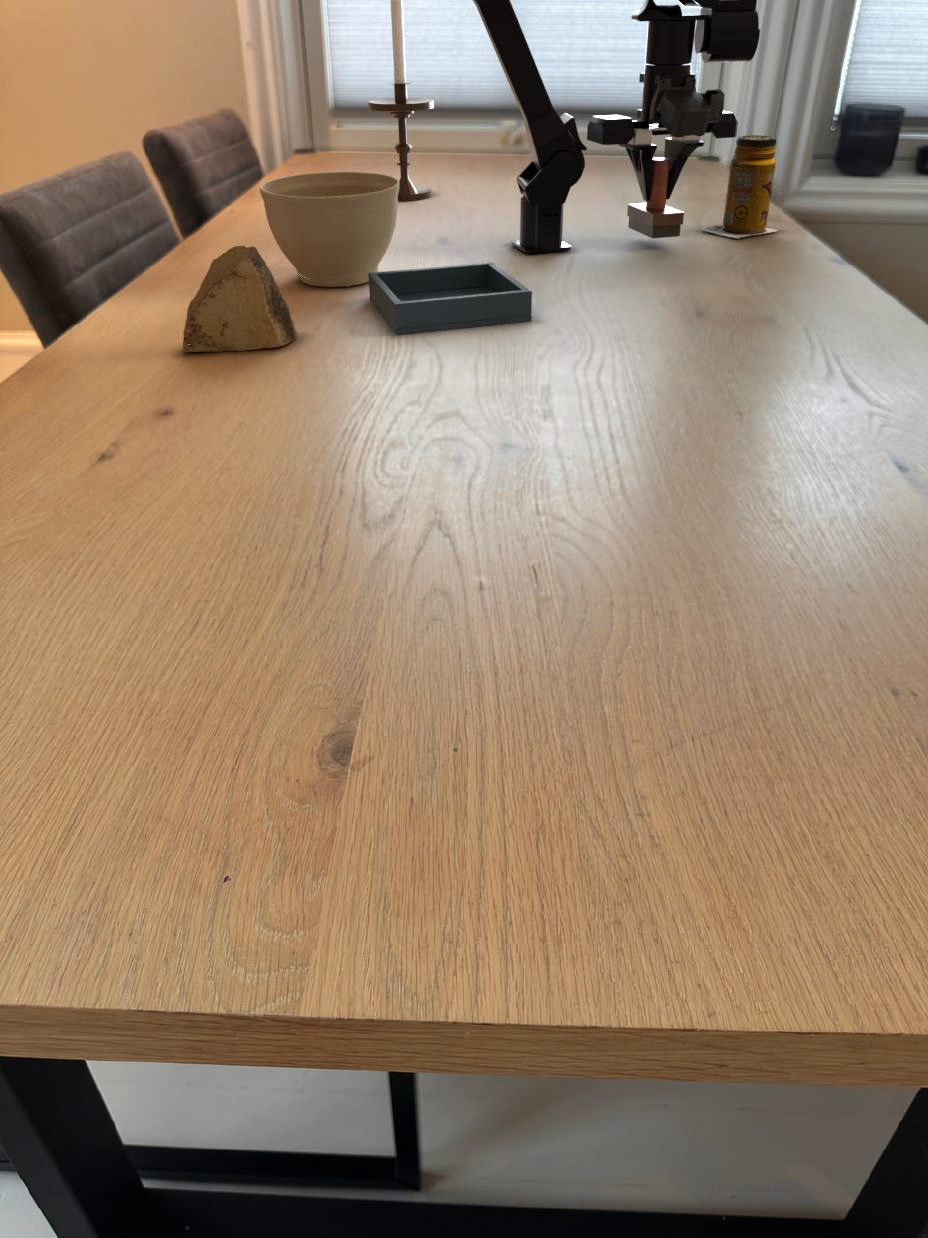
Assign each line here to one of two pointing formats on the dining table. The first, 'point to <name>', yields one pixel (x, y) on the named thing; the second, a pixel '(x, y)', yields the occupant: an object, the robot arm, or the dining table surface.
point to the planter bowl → (332, 223)
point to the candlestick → (402, 106)
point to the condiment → (748, 188)
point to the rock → (238, 307)
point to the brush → (656, 207)
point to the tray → (449, 298)
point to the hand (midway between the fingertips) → (656, 199)
